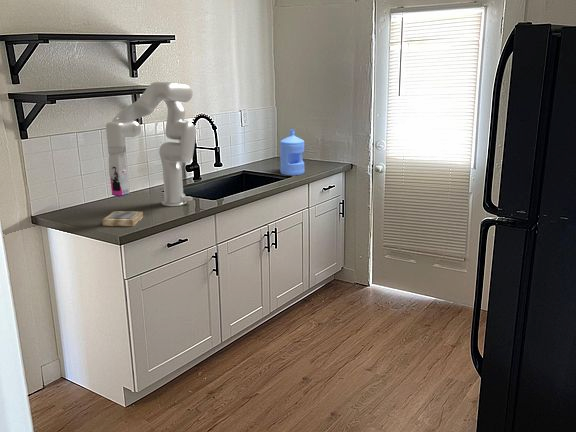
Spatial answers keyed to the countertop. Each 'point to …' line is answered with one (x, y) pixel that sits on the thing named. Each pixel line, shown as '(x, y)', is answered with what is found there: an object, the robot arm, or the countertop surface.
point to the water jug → (292, 155)
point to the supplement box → (121, 185)
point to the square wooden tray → (122, 218)
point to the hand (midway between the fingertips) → (120, 188)
